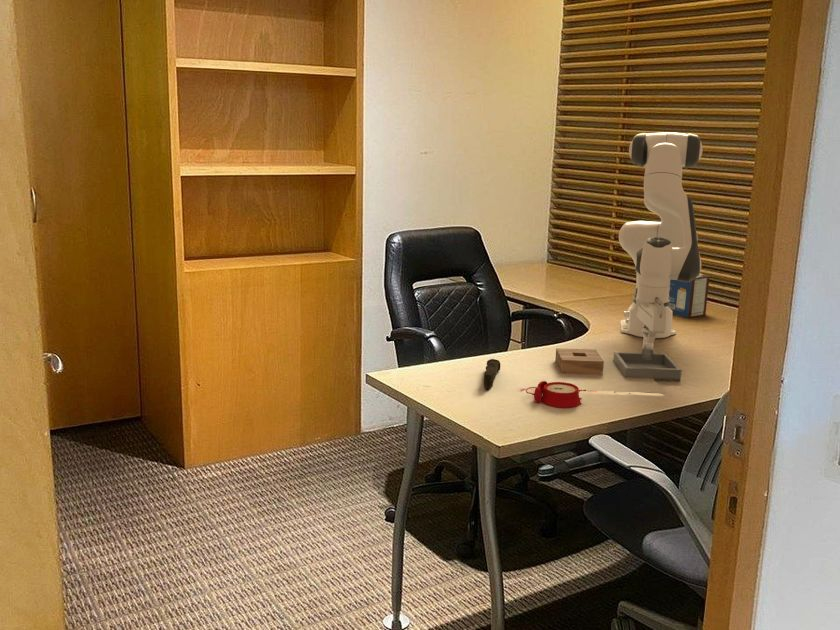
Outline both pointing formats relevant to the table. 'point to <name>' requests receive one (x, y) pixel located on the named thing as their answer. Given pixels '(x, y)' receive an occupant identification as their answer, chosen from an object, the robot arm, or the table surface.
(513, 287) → the table surface
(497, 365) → the hand tool
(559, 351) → the block
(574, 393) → the alarm clock
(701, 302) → the protein box
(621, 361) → the tray
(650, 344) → the pin
